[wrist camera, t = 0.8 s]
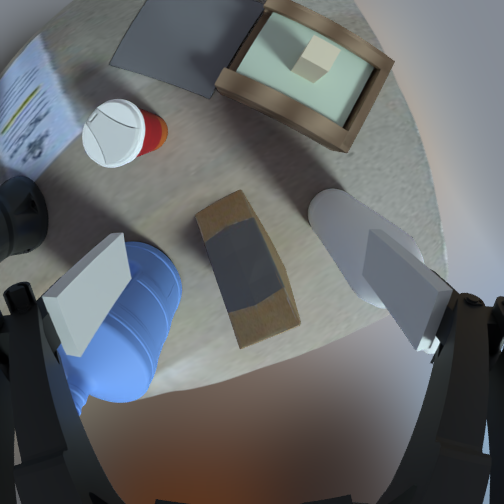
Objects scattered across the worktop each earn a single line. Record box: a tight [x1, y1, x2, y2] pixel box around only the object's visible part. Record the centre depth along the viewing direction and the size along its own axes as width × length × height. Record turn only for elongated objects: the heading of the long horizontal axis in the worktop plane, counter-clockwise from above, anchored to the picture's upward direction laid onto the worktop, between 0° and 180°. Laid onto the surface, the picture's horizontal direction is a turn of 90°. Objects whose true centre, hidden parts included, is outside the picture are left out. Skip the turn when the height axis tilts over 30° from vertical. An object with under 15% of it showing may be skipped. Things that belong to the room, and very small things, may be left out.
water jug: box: [57, 242, 182, 416], centre depth 34 cm, size 16×16×28 cm
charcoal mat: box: [109, 0, 265, 99], centre depth 31 cm, size 18×18×1 cm
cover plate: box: [236, 12, 374, 127], centre depth 26 cm, size 15×13×8 cm
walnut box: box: [214, 0, 395, 153], centre depth 31 cm, size 18×15×7 cm
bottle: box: [308, 188, 440, 354], centre depth 29 cm, size 8×8×30 cm
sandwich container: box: [195, 190, 301, 349], centre depth 37 cm, size 9×15×15 cm, turn 28°
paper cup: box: [82, 99, 168, 168], centre depth 31 cm, size 8×8×14 cm
